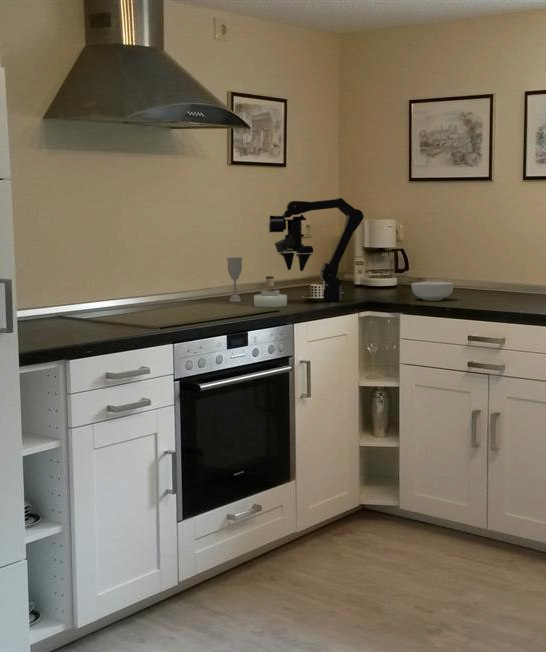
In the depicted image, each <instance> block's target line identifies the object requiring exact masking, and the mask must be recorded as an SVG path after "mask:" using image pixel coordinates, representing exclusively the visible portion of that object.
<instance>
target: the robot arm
mask: <svg viewBox="0 0 546 652" xmlns="http://www.w3.org/2000/svg"><path fill="white" fill-rule="evenodd" d="M328 209H329V210H330V209H338V210H339V212H341V213H342V214H343V215H345V216H346V217H345V222H344V228H343V231H342V232H341V234H340V237H339V239H338V242H337V244H336V246H335V248H334V250H333V253H332V255H331V257H330V258H329V260H328V262H325V261H324V262H323V264H322V267H321V269H319V272H320V273H319V274H320V275H319V276H320V279H321V281H323V282H324V283H325V286H324V289H323V302H332V303H334V302H342V301H343V298H342V283H343V282H342V280H341V279H340V278H339V277H338V272H339V267H340V263H341V260H342V258H343V255H344V254H345V251H346V249H347V247H348V245H349V242H350V241H351V238H352V236H353V235H354V232H355V231H356V230H357V228H359V226H360V224H361V223H362V222H363V219H364V213H363V211H362V210H360V209H358V208H354V206H352V205H350V204H349V203H348V202H347V201H345V199H343V198H342V197H338V198H332V199H324V200H322V199H321V200H313V201H302V200H291V201H289V202H288V203H287V204H286V208H285V210H284V213H283V214H282V215H269V219H268V220H269V221H268V222H269V223H268V231H269V233H284V232H285V230H287V234H285V235H284V239H281V240H279V241H276V242H274V246H275V249H276V252H277V253H278V254H279V255H280V256H281V257H283V260H284V262H285V265H286V268H287V271H291V269H292V266H293V261H294V256H295V255H296V256H297V258H298V263H299V265H298V266H299V271H300V272H303V271H304V269H305V267H306V264H307V262H308V260H309V259H310V256H312V254H313V253H314V247H313V246H312V245H305V244H304V243H303V238H304V236H305V234H304V233H303V229H302V225H303V224H302V221H307V218H306V217H305V216H304V215H303V214H305V213H307V212H310V211H321V210H328ZM298 215H299V216H298ZM290 217H292V218H291V219H289V218H290ZM286 218H287V219H286ZM302 233H303V234H302ZM295 252H296V254H295Z"/></svg>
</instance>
